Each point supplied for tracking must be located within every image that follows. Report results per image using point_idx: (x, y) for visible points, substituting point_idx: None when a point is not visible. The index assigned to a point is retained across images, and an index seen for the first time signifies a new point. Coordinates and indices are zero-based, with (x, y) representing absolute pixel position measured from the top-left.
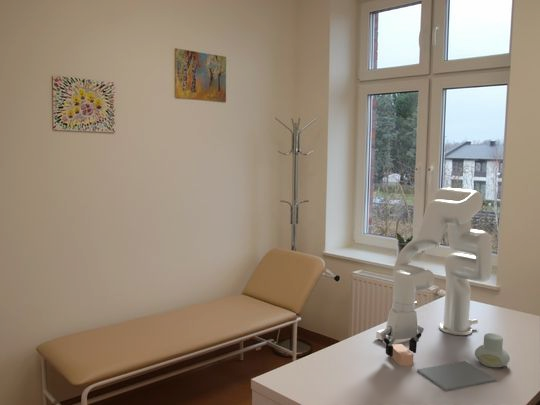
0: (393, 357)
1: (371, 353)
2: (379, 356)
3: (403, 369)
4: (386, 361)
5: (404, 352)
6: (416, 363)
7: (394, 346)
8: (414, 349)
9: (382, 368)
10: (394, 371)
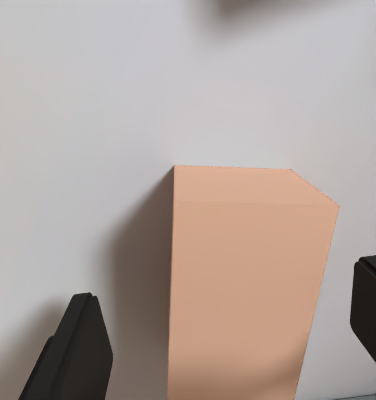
0: (171, 249)
1: (4, 99)
2: (66, 179)
3: (163, 385)
4: (93, 272)
5: (232, 388)
6: None
7: (207, 256)
8: (372, 356)
9: (22, 356)
10: None
